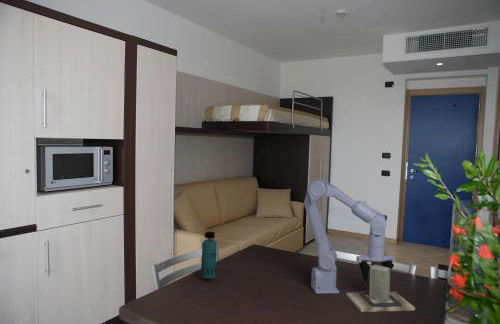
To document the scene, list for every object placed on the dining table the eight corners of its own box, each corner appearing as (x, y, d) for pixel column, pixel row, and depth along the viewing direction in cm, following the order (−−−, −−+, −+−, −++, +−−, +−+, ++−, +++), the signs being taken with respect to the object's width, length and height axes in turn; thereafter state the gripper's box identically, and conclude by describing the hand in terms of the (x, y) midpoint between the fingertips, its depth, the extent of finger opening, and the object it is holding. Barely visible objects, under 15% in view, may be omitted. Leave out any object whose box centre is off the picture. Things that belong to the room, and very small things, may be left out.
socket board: (361, 311, 117) (361, 306, 117) (346, 295, 130) (346, 290, 130) (415, 310, 119) (415, 304, 119) (395, 294, 132) (395, 289, 132)
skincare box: (389, 300, 124) (391, 268, 124) (385, 304, 121) (387, 271, 120) (372, 295, 128) (374, 263, 128) (368, 299, 125) (369, 266, 125)
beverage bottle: (197, 280, 140) (198, 233, 139) (205, 275, 146) (206, 229, 145) (211, 283, 137) (212, 235, 136) (219, 277, 143) (220, 231, 142)
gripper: (389, 242, 132) (387, 276, 133) (353, 242, 131) (352, 276, 132) (399, 247, 125) (397, 283, 126) (361, 247, 124) (360, 283, 125)
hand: (374, 280), depth 128 cm, fingers open, 7 cm apart
